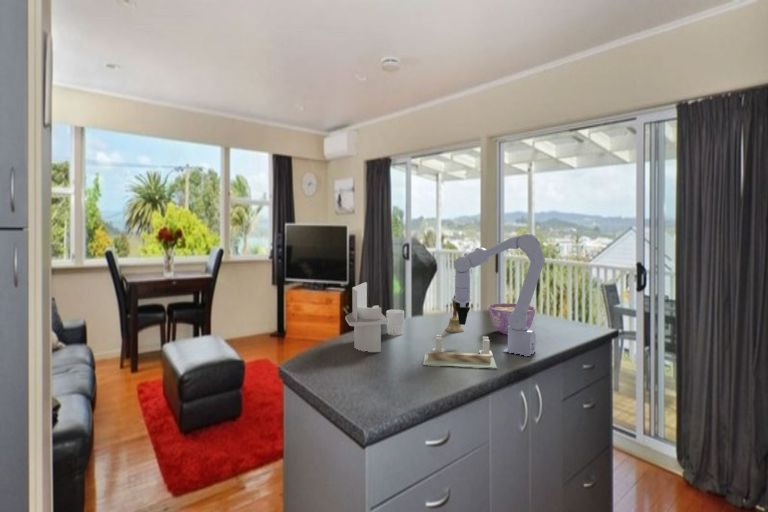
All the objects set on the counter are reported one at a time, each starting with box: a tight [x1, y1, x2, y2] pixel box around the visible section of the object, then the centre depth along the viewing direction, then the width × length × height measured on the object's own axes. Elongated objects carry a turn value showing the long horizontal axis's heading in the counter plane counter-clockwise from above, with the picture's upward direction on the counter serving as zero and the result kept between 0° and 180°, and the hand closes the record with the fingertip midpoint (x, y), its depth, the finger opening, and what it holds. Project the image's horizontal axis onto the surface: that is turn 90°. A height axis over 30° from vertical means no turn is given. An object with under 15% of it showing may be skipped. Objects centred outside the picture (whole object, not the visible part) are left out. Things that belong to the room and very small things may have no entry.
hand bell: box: [444, 294, 465, 333], centre depth 188 cm, size 8×8×16 cm
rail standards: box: [432, 334, 494, 358], centre depth 153 cm, size 21×6×6 cm, turn 81°
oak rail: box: [427, 350, 491, 363], centre depth 143 cm, size 21×2×2 cm, turn 81°
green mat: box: [422, 353, 498, 369], centre depth 143 cm, size 24×11×1 cm, turn 81°
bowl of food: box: [487, 302, 537, 336], centre depth 183 cm, size 20×20×12 cm
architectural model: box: [345, 281, 388, 353], centre depth 163 cm, size 28×21×23 cm
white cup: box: [385, 309, 405, 337], centre depth 182 cm, size 8×8×10 cm
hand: (462, 322), depth 162 cm, fingers open, 7 cm apart
